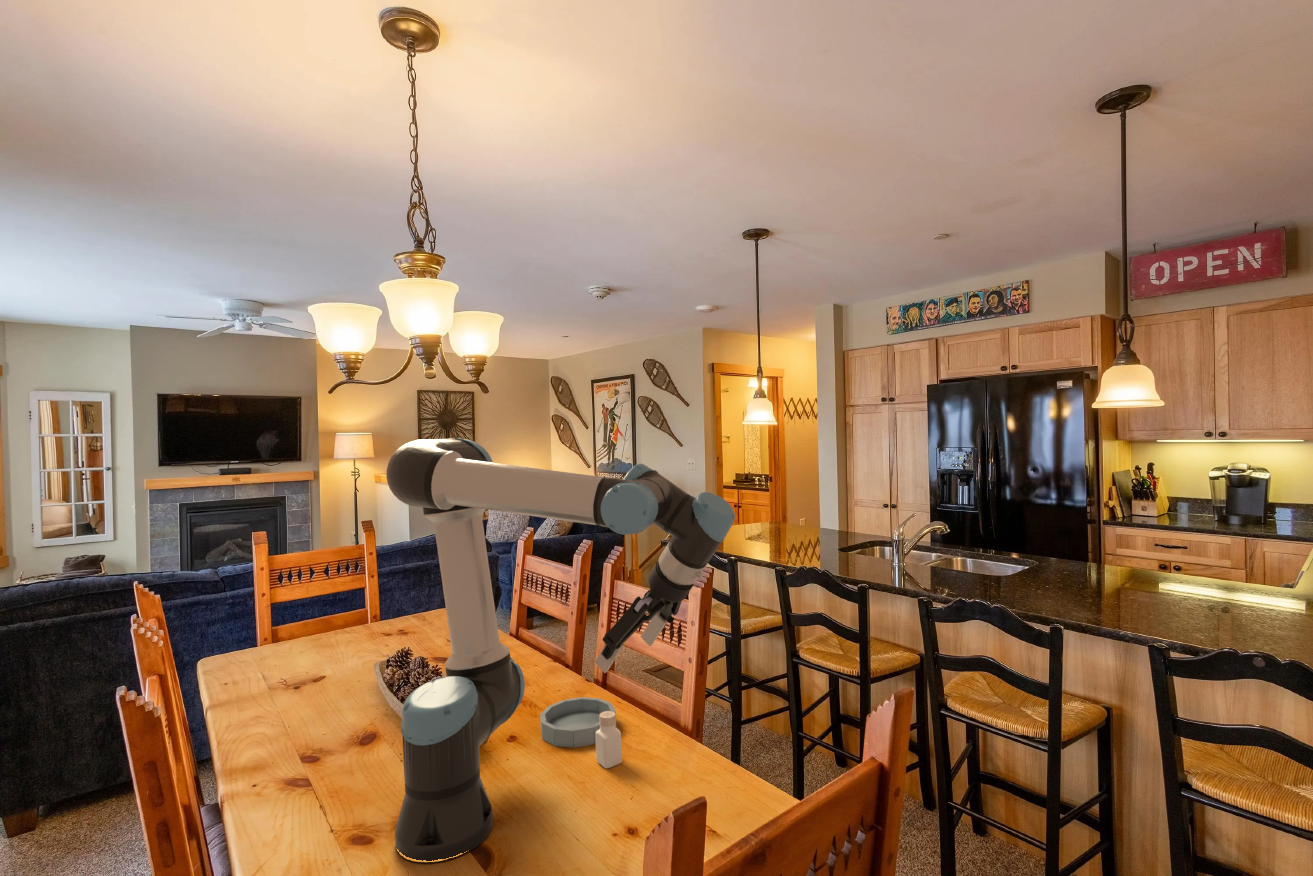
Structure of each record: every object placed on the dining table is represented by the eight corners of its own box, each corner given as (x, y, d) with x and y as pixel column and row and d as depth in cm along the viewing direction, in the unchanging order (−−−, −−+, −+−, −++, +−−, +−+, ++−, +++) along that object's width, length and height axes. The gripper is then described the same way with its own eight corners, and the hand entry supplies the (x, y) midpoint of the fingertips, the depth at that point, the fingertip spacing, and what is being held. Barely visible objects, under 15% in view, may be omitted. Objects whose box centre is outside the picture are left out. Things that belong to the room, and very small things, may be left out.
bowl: (571, 755, 126) (571, 737, 126) (526, 731, 137) (526, 715, 137) (630, 726, 137) (629, 710, 137) (584, 706, 148) (583, 691, 148)
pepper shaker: (606, 770, 120) (604, 721, 120) (595, 762, 123) (593, 713, 123) (623, 763, 122) (621, 714, 122) (612, 755, 125) (610, 708, 125)
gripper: (648, 608, 97) (593, 696, 106) (726, 568, 118) (675, 645, 126) (617, 575, 101) (565, 662, 109) (698, 542, 121) (649, 618, 129)
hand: (624, 653), depth 118 cm, fingers open, 13 cm apart
